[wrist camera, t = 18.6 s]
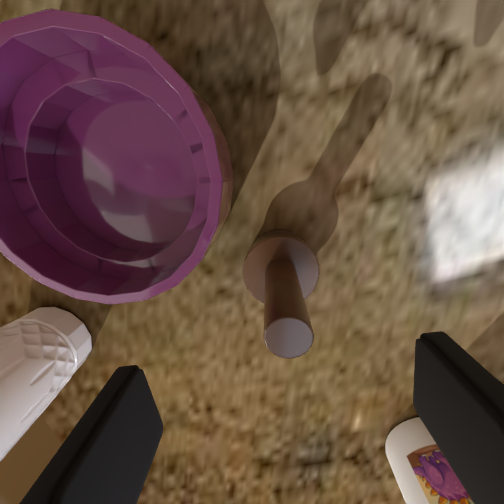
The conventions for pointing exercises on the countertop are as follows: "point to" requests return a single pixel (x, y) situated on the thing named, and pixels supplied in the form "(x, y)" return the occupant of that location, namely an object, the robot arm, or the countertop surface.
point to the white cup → (36, 366)
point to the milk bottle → (422, 467)
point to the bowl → (104, 160)
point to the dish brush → (283, 289)
